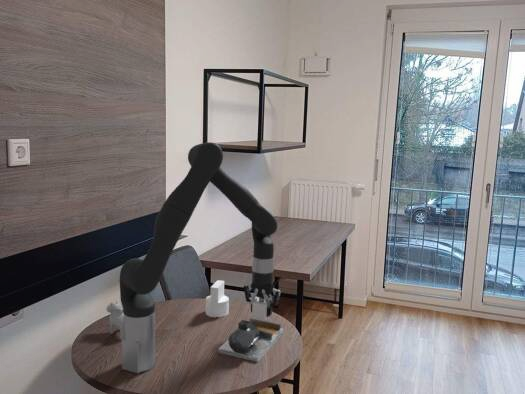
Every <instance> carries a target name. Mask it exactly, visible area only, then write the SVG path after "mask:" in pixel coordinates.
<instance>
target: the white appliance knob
mask: <svg viewBox="0 0 525 394" xmlns="http://www.w3.org/2000/svg"><path fill="white" fill-rule="evenodd" d="M229 302H230V298H229V297H228V296H227V295H225V280H220V279H219V280H216V281H215V282H214V283H213V284H212V285H211V286H210V295H208V296H206V297H205V315H206V316H208V317H210V318H216V317H218V318H224V317H226V315H227V316H228V315H229V311H230V309H229V306H230V304H229ZM223 316H224V317H223Z"/></svg>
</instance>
